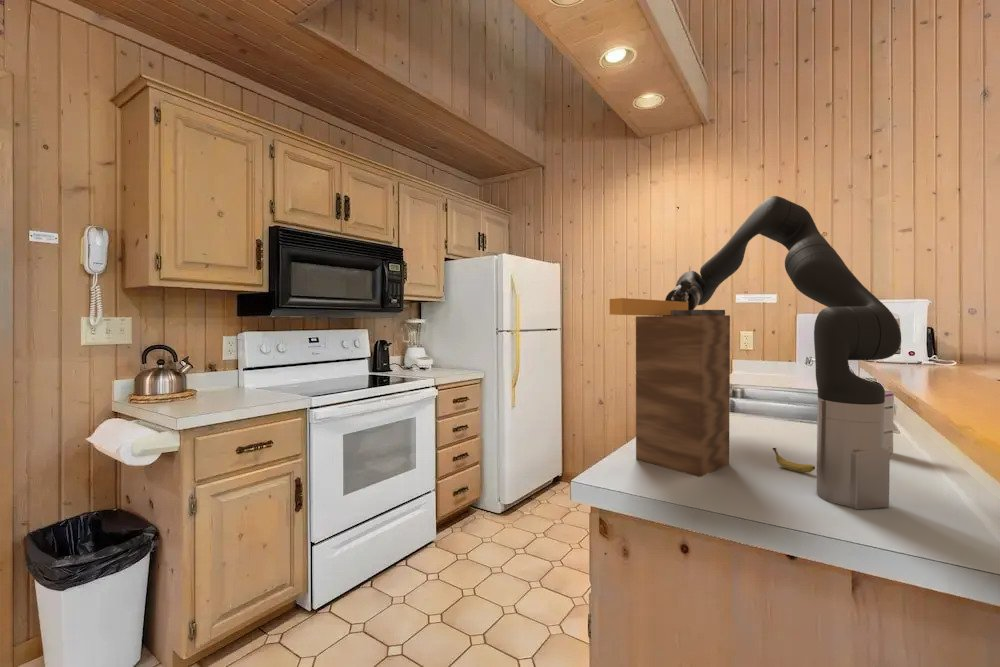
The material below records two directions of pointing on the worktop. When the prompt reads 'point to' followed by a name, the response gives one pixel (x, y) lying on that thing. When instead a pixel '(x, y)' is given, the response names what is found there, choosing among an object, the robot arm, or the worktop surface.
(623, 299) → the orange-brown bar
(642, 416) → the walnut stand
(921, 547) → the worktop surface
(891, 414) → the syrup box
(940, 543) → the worktop surface
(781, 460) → the banana
